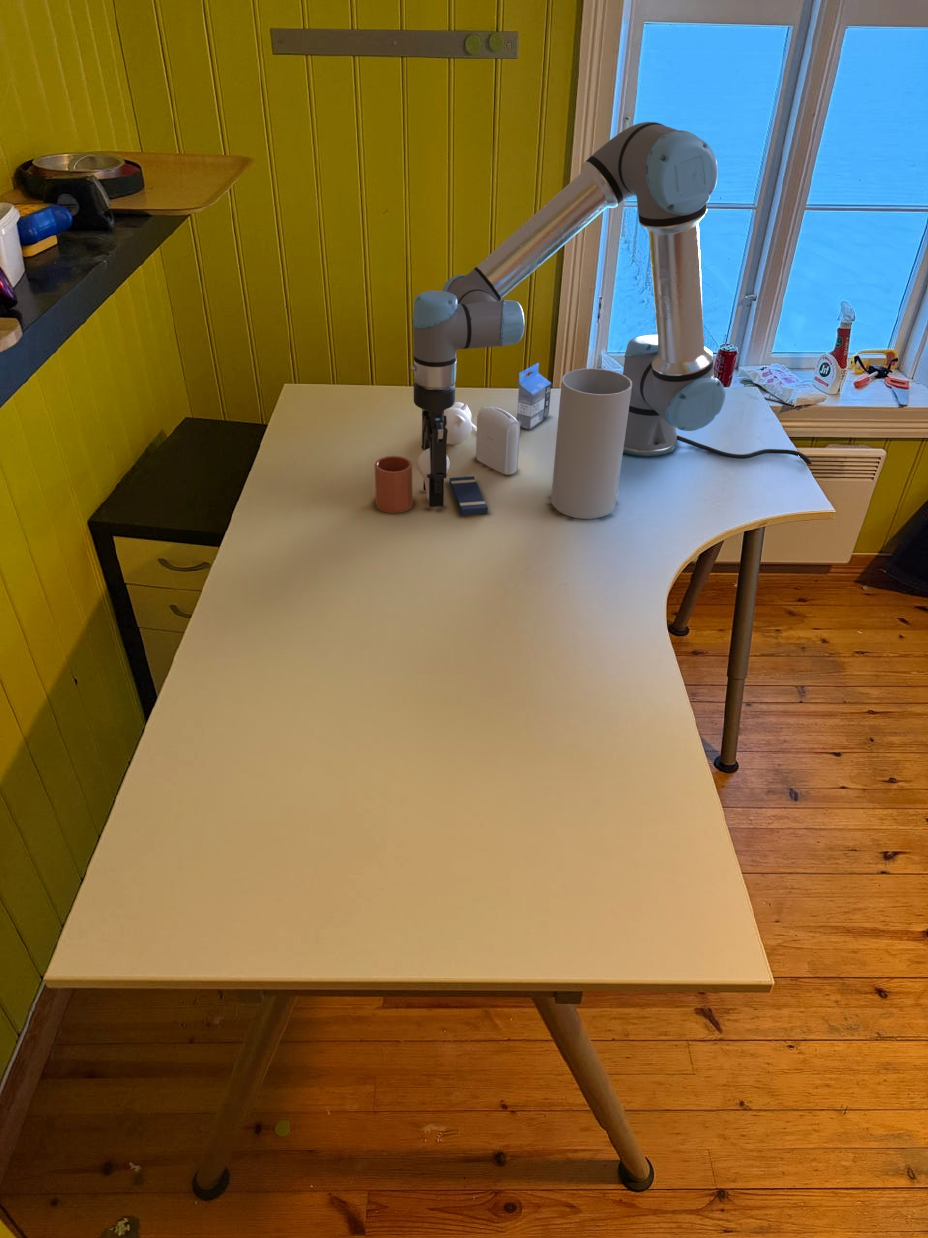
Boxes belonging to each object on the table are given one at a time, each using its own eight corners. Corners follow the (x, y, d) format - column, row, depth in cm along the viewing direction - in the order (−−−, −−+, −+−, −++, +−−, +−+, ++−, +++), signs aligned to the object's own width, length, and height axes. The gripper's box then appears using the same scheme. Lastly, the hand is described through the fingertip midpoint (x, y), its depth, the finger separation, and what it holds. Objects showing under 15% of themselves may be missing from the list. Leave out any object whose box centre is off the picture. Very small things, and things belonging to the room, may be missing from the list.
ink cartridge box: (530, 430, 204) (534, 377, 197) (515, 426, 206) (518, 373, 199) (549, 417, 210) (553, 365, 203) (534, 413, 212) (538, 361, 205)
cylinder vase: (584, 527, 170) (599, 400, 156) (537, 502, 178) (547, 378, 163) (628, 506, 177) (646, 383, 162) (580, 483, 185) (594, 363, 170)
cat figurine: (453, 386, 199) (447, 406, 189) (492, 413, 202) (489, 434, 192) (431, 417, 204) (424, 438, 194) (470, 443, 206) (466, 465, 197)
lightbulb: (454, 497, 178) (455, 446, 172) (440, 511, 174) (441, 459, 167) (426, 490, 180) (426, 439, 174) (412, 504, 176) (411, 452, 169)
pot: (419, 501, 177) (419, 461, 172) (400, 516, 172) (399, 475, 167) (388, 492, 180) (387, 452, 175) (369, 507, 175) (367, 466, 170)
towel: (473, 482, 184) (473, 475, 183) (487, 514, 174) (487, 507, 173) (449, 483, 183) (449, 477, 182) (461, 515, 173) (462, 509, 172)
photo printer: (472, 459, 192) (474, 403, 185) (488, 454, 194) (490, 398, 187) (504, 477, 186) (508, 421, 178) (520, 472, 188) (524, 415, 181)
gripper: (406, 364, 170) (406, 475, 183) (422, 405, 155) (422, 523, 168) (445, 362, 171) (443, 473, 185) (465, 402, 156) (461, 520, 170)
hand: (433, 497), depth 177 cm, fingers closed on lightbulb, 6 cm apart
